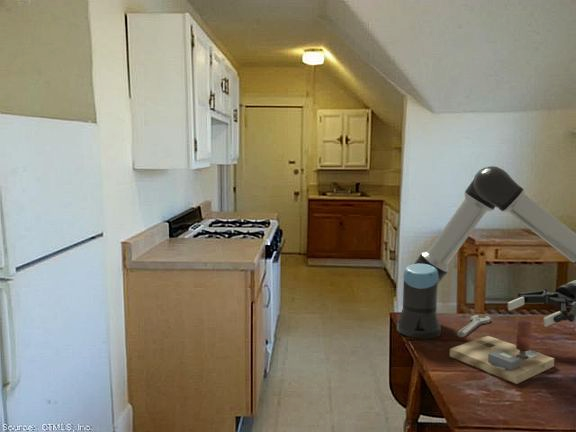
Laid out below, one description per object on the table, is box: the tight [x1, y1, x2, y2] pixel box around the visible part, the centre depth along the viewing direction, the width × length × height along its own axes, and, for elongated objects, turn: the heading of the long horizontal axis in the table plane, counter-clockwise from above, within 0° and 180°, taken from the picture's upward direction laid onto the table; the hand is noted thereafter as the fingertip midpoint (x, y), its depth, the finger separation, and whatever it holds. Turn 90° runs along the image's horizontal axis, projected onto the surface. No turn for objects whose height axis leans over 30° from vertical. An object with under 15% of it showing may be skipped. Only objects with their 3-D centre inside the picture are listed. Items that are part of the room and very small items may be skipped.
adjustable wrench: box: [456, 314, 491, 338], centre depth 176 cm, size 25×6×2 cm, turn 135°
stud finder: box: [488, 350, 521, 371], centre depth 138 cm, size 7×5×2 cm
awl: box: [515, 320, 532, 360], centre depth 143 cm, size 4×4×13 cm
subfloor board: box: [449, 335, 555, 385], centre depth 146 cm, size 22×20×3 cm
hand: (525, 314), depth 151 cm, fingers open, 13 cm apart
